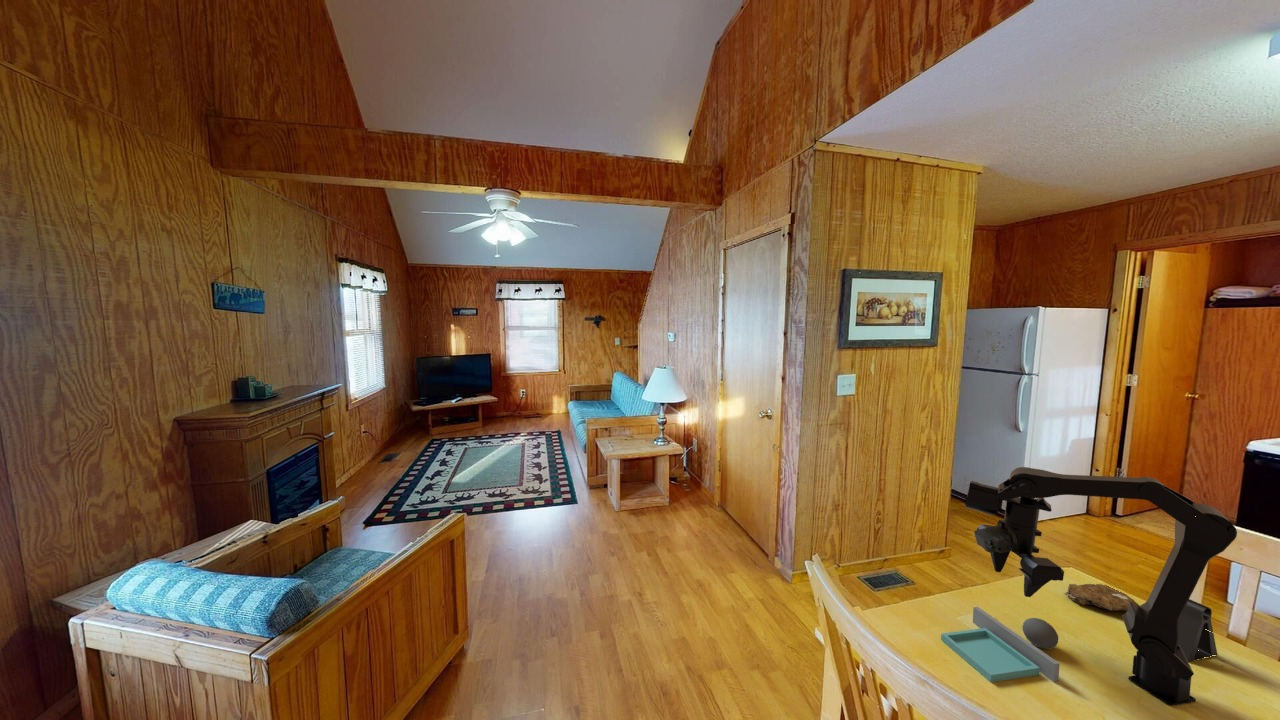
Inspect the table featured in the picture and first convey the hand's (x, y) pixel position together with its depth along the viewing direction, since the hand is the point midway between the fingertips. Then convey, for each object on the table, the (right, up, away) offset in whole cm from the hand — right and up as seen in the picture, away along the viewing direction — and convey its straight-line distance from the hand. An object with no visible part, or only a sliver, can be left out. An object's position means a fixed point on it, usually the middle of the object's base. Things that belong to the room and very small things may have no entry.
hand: (1011, 583), depth 99 cm
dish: (-11, -13, -6) cm, 18 cm away
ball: (+4, -10, -3) cm, 11 cm away
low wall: (-3, -13, -4) cm, 14 cm away
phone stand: (+36, -13, -4) cm, 38 cm away
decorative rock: (+34, -12, +12) cm, 38 cm away
